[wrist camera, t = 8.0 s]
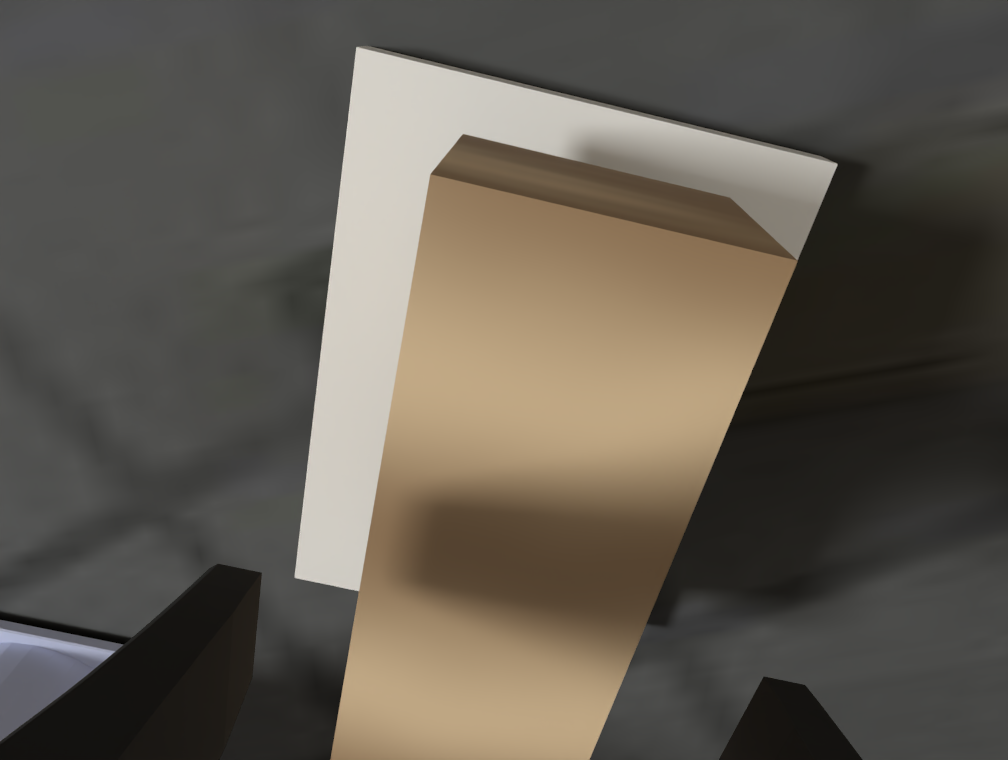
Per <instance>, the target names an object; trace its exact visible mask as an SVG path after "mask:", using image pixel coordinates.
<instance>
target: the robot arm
mask: <svg viewBox="0 0 1008 760" xmlns="http://www.w3.org/2000/svg"><path fill="white" fill-rule="evenodd" d="M261 575H262V573H260V572H255V571H250V570H245V569H241V568H236V567H231V566H226V565H221V564H217V565H215V566H213V567H211V568H209V569H208V570H207V571H206V572H205V573H204V574H203V575H202V576H201V577H200V578H199V579H198V580H197V581H195V582H194V583H193V584H192V585H191V586H190V587H189V588H188V589H187V590H186V591H185V592H183V593H182V594H181V595H180V596H179V597H178V598H177V599H176V600H175V601H174V602H172V603H171V604H170V605H169V606H168V607H167V608H166V609H165V610H164V611H162V612H161V613H160V614H159V615H158V616H157V617H156V618H154V619H153V620H152V621H151V622H150V623H149V624H147V625H146V626H145V627H144V628H143V629H142V630H141V631H139V632H138V633H137V634H136V635H135V636H134V637H132V638H131V639H130V640H129V641H128V642H126V643H125V644H119V643H114V642H109V641H104V640H99V639H94V638H89V637H84V636H79V635H74V634H69V633H64V632H59V631H54V630H49V629H44V628H39V627H34V626H29V625H24V624H19V623H14V622H9V621H4V620H0V760H219V759H220V757H221V755H222V753H223V751H224V749H225V746H226V743H227V741H228V738H229V736H230V733H231V731H232V728H233V726H234V723H235V721H236V718H237V716H238V713H239V710H240V708H241V705H242V702H243V700H244V697H245V695H246V692H247V689H248V687H249V684H250V681H251V679H252V675H253V664H254V653H255V642H256V631H257V620H258V608H259V597H260V586H261ZM719 760H862V759H861V757H860V756H859V755H858V753H857V752H856V751H855V749H854V748H853V747H852V745H851V744H850V743H849V741H848V740H847V739H846V737H845V736H844V735H843V733H842V732H841V731H840V729H839V728H838V727H837V725H836V724H835V723H834V721H833V720H832V719H831V718H830V716H829V715H828V714H827V712H826V711H825V710H824V708H823V707H822V706H821V705H820V703H819V702H818V701H817V699H816V698H815V697H814V696H813V694H812V693H811V692H810V691H809V689H808V688H807V687H806V686H805V685H802V684H797V683H792V682H788V681H783V680H778V679H773V678H768V677H763V679H762V681H761V683H760V685H759V687H758V688H757V690H756V692H755V694H754V696H753V698H752V700H751V701H750V703H749V705H748V707H747V709H746V711H745V713H744V714H743V716H742V718H741V720H740V722H739V724H738V725H737V727H736V729H735V731H734V733H733V735H732V737H731V738H730V740H729V742H728V744H727V746H726V748H725V750H724V751H723V753H722V755H721V757H720V759H719Z"/></svg>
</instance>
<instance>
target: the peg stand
mask: <svg viewBox="0 0 1008 760" xmlns="http://www.w3.org/2000/svg"><path fill="white" fill-rule="evenodd" d="M463 134H466V135H470V136H474V137H478V138H483V139H487V140H491V141H495V142H499V143H504V144H508V145H512V146H516V147H520V148H525V149H529V150H533V151H537V152H541V153H545V154H550V155H554V156H558V157H562V158H566V159H571V160H575V161H579V162H583V163H587V164H592V165H596V166H600V167H604V168H608V169H613V170H617V171H621V172H625V173H629V174H633V175H638V176H642V177H646V178H650V179H654V180H659V181H663V182H667V183H671V184H675V185H680V186H684V187H688V188H692V189H696V190H701V191H705V192H709V193H713V194H717V195H721V196H726V197H730V198H731V199H732V200H733V201H734V202H735V203H736V204H737V205H739V206H740V207H741V208H742V209H743V210H744V211H745V212H746V213H747V214H748V215H749V216H750V217H751V218H752V219H754V220H755V221H756V222H757V223H758V224H759V225H760V226H761V227H762V228H763V229H764V230H765V231H766V232H768V233H769V234H770V235H771V236H772V237H773V238H774V239H775V240H776V241H777V242H778V243H779V244H780V245H781V246H783V247H784V248H785V249H786V250H787V251H788V252H789V253H790V254H791V255H792V256H793V257H794V258H795V259H796V260H798V258H799V256H800V253H801V251H802V249H803V246H804V244H805V241H806V239H807V237H808V234H809V232H810V229H811V227H812V225H813V222H814V220H815V218H816V215H817V213H818V210H819V208H820V206H821V203H822V201H823V198H824V196H825V194H826V191H827V189H828V186H829V184H830V182H831V179H832V177H833V174H834V172H835V170H836V167H837V165H838V164H837V163H835V162H833V161H830V160H828V159H826V158H824V157H822V156H818V155H814V154H810V153H806V152H802V151H798V150H794V149H790V148H785V147H781V146H777V145H773V144H769V143H765V142H761V141H757V140H753V139H748V138H744V137H740V136H736V135H732V134H728V133H724V132H720V131H716V130H712V129H707V128H703V127H699V126H695V125H691V124H687V123H683V122H679V121H675V120H670V119H666V118H662V117H658V116H654V115H650V114H646V113H642V112H638V111H633V110H629V109H625V108H621V107H617V106H613V105H609V104H605V103H601V102H596V101H592V100H588V99H584V98H580V97H576V96H572V95H568V94H564V93H559V92H555V91H551V90H547V89H543V88H539V87H535V86H531V85H527V84H523V83H518V82H514V81H510V80H506V79H502V78H498V77H494V76H490V75H486V74H481V73H477V72H473V71H469V70H465V69H461V68H457V67H453V66H449V65H444V64H440V63H436V62H432V61H428V60H424V59H420V58H416V57H412V56H407V55H403V54H399V53H395V52H391V51H387V50H383V49H379V48H375V47H370V46H362V47H357V48H356V56H355V65H354V73H353V82H352V90H351V99H350V107H349V116H348V125H347V133H346V142H345V150H344V159H343V167H342V176H341V185H340V193H339V202H338V210H337V219H336V227H335V236H334V244H333V253H332V262H331V270H330V279H329V287H328V296H327V304H326V313H325V322H324V330H323V339H322V347H321V356H320V364H319V373H318V381H317V390H316V399H315V407H314V416H313V424H312V433H311V441H310V450H309V459H308V467H307V476H306V484H305V493H304V501H303V510H302V518H301V527H300V536H299V544H298V553H297V561H296V570H295V578H298V579H303V580H308V581H313V582H317V583H322V584H327V585H332V586H337V587H342V588H346V589H351V590H356V591H359V589H360V583H361V577H362V571H363V566H364V560H365V554H366V548H367V542H368V536H369V530H370V525H371V519H372V513H373V507H374V501H375V495H376V489H377V484H378V478H379V472H380V466H381V460H382V454H383V448H384V442H385V437H386V431H387V425H388V419H389V413H390V407H391V401H392V396H393V390H394V384H395V378H396V372H397V366H398V360H399V355H400V349H401V343H402V337H403V331H404V325H405V319H406V313H407V308H408V302H409V296H410V290H411V284H412V278H413V272H414V267H415V261H416V255H417V249H418V243H419V237H420V231H421V226H422V220H423V214H424V208H425V202H426V196H427V190H428V185H429V179H430V174H431V173H432V171H433V170H434V169H435V168H436V167H437V165H438V164H439V163H440V162H441V160H442V159H443V158H444V157H445V155H446V154H447V153H448V152H449V151H450V149H451V148H452V147H453V146H454V144H455V143H456V142H457V141H458V139H459V138H460V137H461V136H462V135H463Z"/></svg>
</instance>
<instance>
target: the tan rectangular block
mask: <svg viewBox="0 0 1008 760" xmlns="http://www.w3.org/2000/svg"><path fill="white" fill-rule="evenodd" d="M797 262H798V260H796V259H795V258H794V257H793V256H792V255H791V254H790V253H789V252H788V251H787V250H786V249H785V248H784V247H783V246H781V245H780V244H779V243H778V242H777V241H776V240H775V239H774V238H773V237H772V236H771V235H770V234H769V233H768V232H766V231H765V230H764V229H763V228H762V227H761V226H760V225H759V224H758V223H757V222H756V221H755V220H754V219H752V218H751V217H750V216H749V215H748V214H747V213H746V212H745V211H744V210H743V209H742V208H741V207H740V206H739V205H737V204H736V203H735V202H734V201H733V200H732V199H731V198H730V197H726V196H721V195H717V194H713V193H709V192H705V191H701V190H696V189H692V188H688V187H684V186H680V185H675V184H671V183H667V182H663V181H659V180H654V179H650V178H646V177H642V176H638V175H633V174H629V173H625V172H621V171H617V170H613V169H608V168H604V167H600V166H596V165H592V164H587V163H583V162H579V161H575V160H571V159H566V158H562V157H558V156H554V155H550V154H545V153H541V152H537V151H533V150H529V149H525V148H520V147H516V146H512V145H508V144H504V143H499V142H495V141H491V140H487V139H483V138H478V137H474V136H470V135H466V134H463V135H462V136H461V137H460V138H459V139H458V141H457V142H456V143H455V144H454V146H453V147H452V148H451V149H450V151H449V152H448V153H447V154H446V155H445V157H444V158H443V159H442V160H441V162H440V163H439V164H438V165H437V167H436V168H435V169H434V170H433V171H432V173H431V174H430V179H429V185H428V190H427V196H426V202H425V208H424V214H423V220H422V226H421V231H420V237H419V243H418V249H417V255H416V261H415V267H414V272H413V278H412V284H411V290H410V296H409V302H408V308H407V313H406V319H405V325H404V331H403V337H402V343H401V349H400V355H399V360H398V366H397V372H396V378H395V384H394V390H393V396H392V401H391V407H390V413H389V419H388V425H387V431H386V437H385V442H384V448H383V454H382V460H381V466H380V472H379V478H378V484H377V489H376V495H375V501H374V507H373V513H372V519H371V525H370V530H369V536H368V542H367V548H366V554H365V560H364V566H363V571H362V577H361V583H360V589H359V595H358V601H357V607H356V612H355V618H354V624H353V630H352V636H351V642H350V648H349V654H348V659H347V665H346V671H345V677H344V683H343V689H342V695H341V700H340V706H339V712H338V718H337V724H336V730H335V736H334V741H333V747H332V753H331V759H330V760H589V759H590V757H591V755H592V752H593V750H594V747H595V745H596V743H597V740H598V738H599V735H600V733H601V731H602V728H603V726H604V724H605V721H606V719H607V716H608V714H609V712H610V709H611V707H612V704H613V702H614V700H615V697H616V695H617V692H618V690H619V688H620V685H621V683H622V680H623V678H624V676H625V673H626V671H627V668H628V666H629V664H630V661H631V659H632V657H633V654H634V652H635V649H636V647H637V645H638V642H639V640H640V637H641V635H642V633H643V630H644V628H645V625H646V623H647V621H648V618H649V616H650V613H651V611H652V609H653V606H654V604H655V601H656V599H657V597H658V594H659V592H660V590H661V587H662V585H663V582H664V580H665V578H666V575H667V573H668V570H669V568H670V566H671V563H672V561H673V558H674V556H675V554H676V551H677V549H678V546H679V544H680V542H681V539H682V537H683V535H684V532H685V530H686V527H687V525H688V523H689V520H690V518H691V515H692V513H693V511H694V508H695V506H696V503H697V501H698V499H699V496H700V494H701V491H702V489H703V487H704V484H705V482H706V479H707V477H708V475H709V472H710V470H711V468H712V465H713V463H714V460H715V458H716V456H717V453H718V451H719V448H720V446H721V444H722V441H723V439H724V436H725V434H726V432H727V429H728V427H729V424H730V422H731V420H732V417H733V415H734V412H735V410H736V408H737V405H738V403H739V401H740V398H741V396H742V393H743V391H744V389H745V386H746V384H747V381H748V379H749V377H750V374H751V372H752V369H753V367H754V365H755V362H756V360H757V357H758V355H759V353H760V350H761V348H762V345H763V343H764V341H765V338H766V336H767V334H768V331H769V329H770V326H771V324H772V322H773V319H774V317H775V314H776V312H777V310H778V307H779V305H780V302H781V300H782V298H783V295H784V293H785V290H786V288H787V286H788V283H789V281H790V278H791V276H792V274H793V271H794V269H795V267H796V264H797Z"/></svg>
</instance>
